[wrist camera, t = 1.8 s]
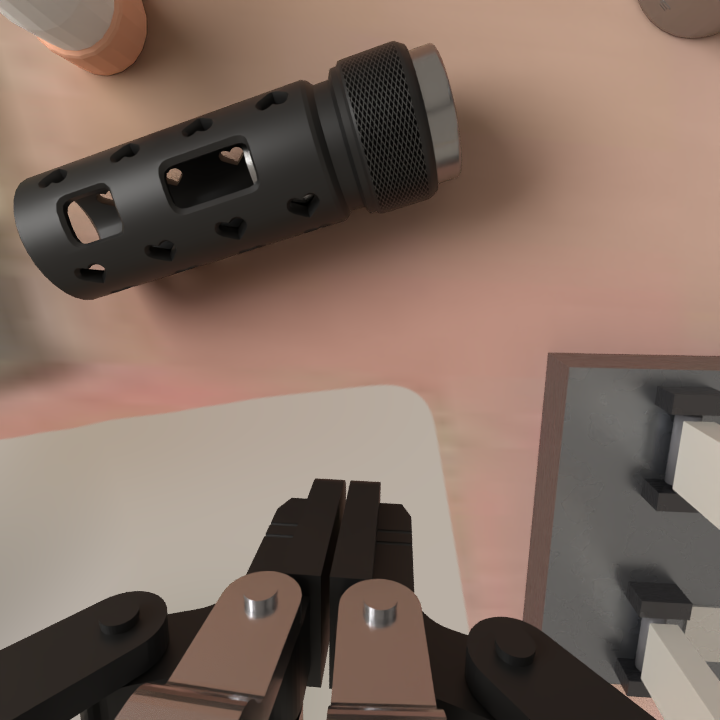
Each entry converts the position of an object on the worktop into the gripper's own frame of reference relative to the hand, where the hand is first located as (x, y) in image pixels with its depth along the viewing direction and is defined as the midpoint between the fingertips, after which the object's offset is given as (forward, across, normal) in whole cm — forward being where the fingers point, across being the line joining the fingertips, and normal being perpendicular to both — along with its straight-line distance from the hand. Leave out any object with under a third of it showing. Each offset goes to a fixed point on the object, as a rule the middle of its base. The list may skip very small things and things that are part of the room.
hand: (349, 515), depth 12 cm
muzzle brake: (+29, -10, +11) cm, 33 cm away
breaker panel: (+29, +22, -15) cm, 39 cm away
